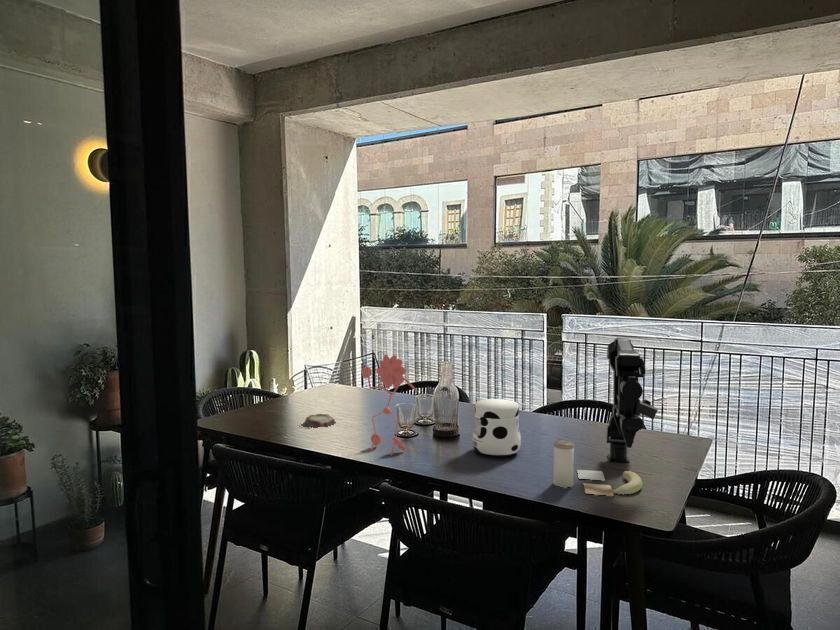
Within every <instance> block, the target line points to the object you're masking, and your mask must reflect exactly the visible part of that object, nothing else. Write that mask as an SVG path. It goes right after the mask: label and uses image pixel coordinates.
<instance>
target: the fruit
mask: <svg viewBox="0 0 840 630" xmlns="http://www.w3.org/2000/svg"><path fill="white" fill-rule="evenodd" d="M622 475H623V477H624V479H625V480H626V481H627V483H624V484H623V485H621V486H618V487H617V488H616V489H612V491H613V494H616V493H617V495H620V494H623V495H622V496H625V495H624V494H629V495H631V494H635V493H637V492H639V491H640V490H641V489H642V488H643V480H642V478H641V477H640V475H638V474H637V473H635V472H634V471H630V470H628V471H627V470H625V471H623V473H622Z"/></svg>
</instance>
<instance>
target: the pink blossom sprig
mask: <svg viewBox="0 0 840 630" xmlns="http://www.w3.org/2000/svg"><path fill="white" fill-rule="evenodd" d="M402 364H403V360H402V359H401V358H397V355H396V354H393V355H392V356H391V357H390V356H389V355H388V354H384V355H383V359H380V361H379V366H380V367H379V368H377V369H376V373H377V375H379V376H380V379H379V381H380V382H381V383H383V384H382V385H381V386H371V378H370V377H371V376H372V373H373V371H372V368H370V367H369V366H368V365H367V366H365V367H363V368H362V369H361V376H362V378H364V379H367V381H368V388H369V389H380V390H383V391H385V392H387V394H389V398H388V403H387V406H385V407H384V408H383V410H382V412H379V413H377V414H376V415H373V416H372V424H373V425H372V426H373V430H374V433H372V435H371V436H370V441H371V443H372V444H371V448H370V451H371V452H372V451H373V449H374V446H375V447H377V446H378V445H380V444H381V442H383V443H384V442H385V443H386V442H387V443H388V442H389V443H393V445H392V449H391V452H390V456H393V453H394V449H395V446H397V447H398V448H399V449H400V450H402V451H403V452H404V453H405V452H406V448H405V445H406V443H405V442H403V441H400V439H398V437H397V436H398V419H397V418H396V417H395V416H394V414H393V413H392V412H391V408H390V406H389V405H390V402H391V398H392V396H394V394H395V393H396V392H397V390H398V388H399V387H400V386H401V384H403V383H404V381H405V383H406V384H408V386H409V387H411V388H412V390H414V391H415V392H417V393H418V392H419V390H417V388H416V387H415V385H413V384H412V383H411V382H410V381H409V380H408V379H406V378H405V377H404V375H405V374H406V373H407V370H406V368H405V367H404V366H402ZM392 386H393V387H394V388H395V389H393V392H391V391H390V390H388V389H390V388H391V387H392ZM383 413H384V414H385V415H389V414H391V416H392V418H394V420H395V422H396V423H395V424H396V425H395V426H396V427H395V436H394V437H393V438H392V441H390V440H383V441H382V438H381V435H380V434H379V433H377V431H376V427H375V421H374V420H375V419H374V418H375V417H377V416H379V415H381V414H383ZM407 444H408V443H407ZM408 446H410V447H412V445H410V444H408ZM405 458H406V459H407V456H406V457H404V459H405Z"/></svg>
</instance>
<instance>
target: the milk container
mask: <svg viewBox="0 0 840 630" xmlns="http://www.w3.org/2000/svg"><path fill="white" fill-rule="evenodd" d="M519 413H520V407H519V403H518V402H517V401H514V400H510V399H506V398H505V399H503V398H486V399H480V400H478V401H477V402H475V407H474V429H473V432H472V433H473V434H472V445H473V449H474V451H476V452H477V453H479V454H480V455H483V456H486V457H487V456H488V457H493V458H495V457H497V458H503V457H510V456H513V455H515V454H517V453H519V451H520V449H521V447H522V446H521V444H522V436H521V432H520V429H519V428H520V427H519V423H520V422H519V419H520V414H519Z"/></svg>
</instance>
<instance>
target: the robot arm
mask: <svg viewBox="0 0 840 630" xmlns="http://www.w3.org/2000/svg"><path fill="white" fill-rule="evenodd" d="M606 349H607V350H606V352H607V353H606V359H607V360H608V365H609V367H610V368H611V369H612V372H613V379H612V382H613V384H612V385H613V386H612V387H613V395H612V396H613V403H612V404H613V405H612V412H611V413H612V415H611V416H610V418H609V419H608V425H606V430H605V442H606V443H607V444H609V454H607V459H608V461H609V462H610V463H611V462H613V463H630V459H629V457H628V448H630V449H631V448H632V447H633V444H634V442H635V437H636V435H637V433H638V432H639V431H641V430H642V429H644V420H643V419H642V417H640V415H642V416H645V417H648V418H650V419H652V420H655V418H656V416H657V412H658V409H657V408H656V406H653V405H652V403H651V401H650V400H647V399H646V398H645V399H644V400H642V401H641V399H640V398H641V397H642V396H643V393H644V390H643V387H642V385H641V383H640V382H639V378H642V379H643V378H645V377H644V376H645V375H646V367H645V366H646V365H645V361H644V359H643V356H641V354H640V353H639V352H637V351H634V344H632V340H631V338H629V337H615V338H614V340H613V341H612V342H610V343H609V344H607V348H606Z"/></svg>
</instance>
